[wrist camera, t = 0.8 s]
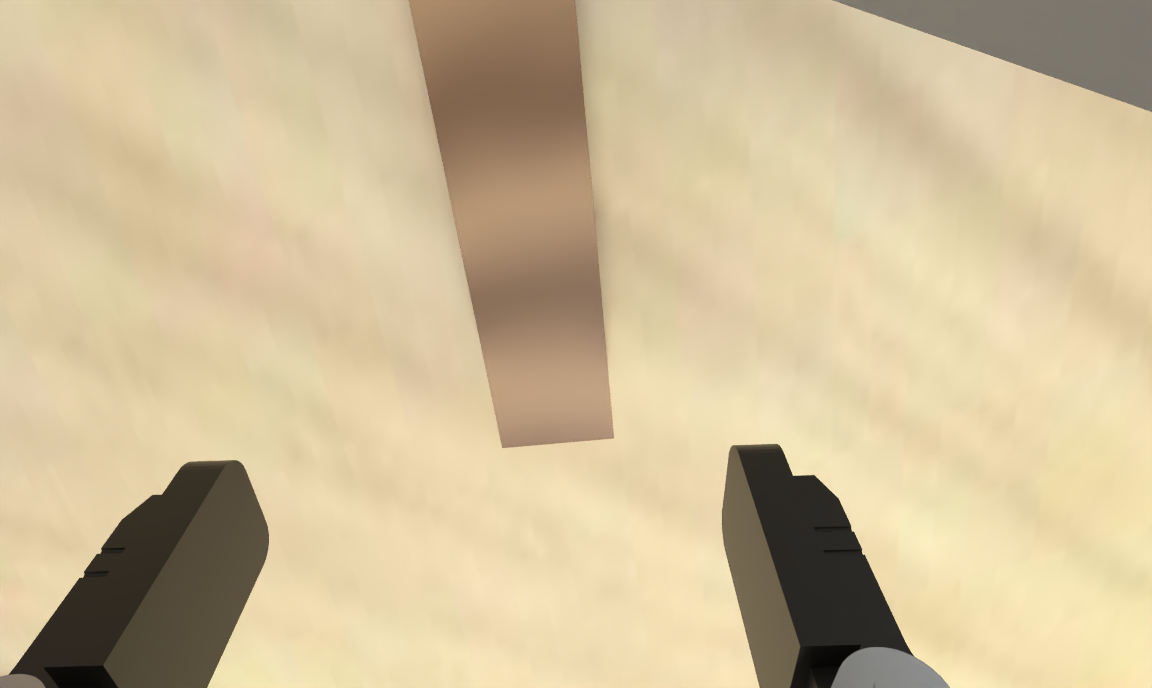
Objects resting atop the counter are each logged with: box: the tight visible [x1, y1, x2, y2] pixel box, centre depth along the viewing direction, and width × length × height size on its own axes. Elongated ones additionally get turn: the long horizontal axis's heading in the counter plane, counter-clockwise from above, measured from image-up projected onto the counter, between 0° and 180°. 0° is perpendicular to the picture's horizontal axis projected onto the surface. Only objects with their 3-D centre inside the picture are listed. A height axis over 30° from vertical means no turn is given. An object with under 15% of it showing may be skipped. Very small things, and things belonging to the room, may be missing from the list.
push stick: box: [409, 0, 614, 448], centre depth 20 cm, size 24×4×4 cm, turn 6°
